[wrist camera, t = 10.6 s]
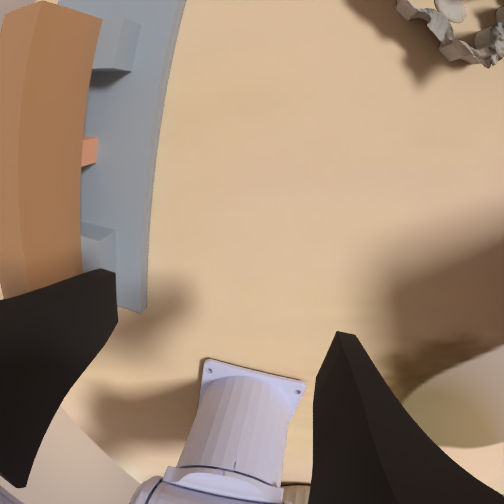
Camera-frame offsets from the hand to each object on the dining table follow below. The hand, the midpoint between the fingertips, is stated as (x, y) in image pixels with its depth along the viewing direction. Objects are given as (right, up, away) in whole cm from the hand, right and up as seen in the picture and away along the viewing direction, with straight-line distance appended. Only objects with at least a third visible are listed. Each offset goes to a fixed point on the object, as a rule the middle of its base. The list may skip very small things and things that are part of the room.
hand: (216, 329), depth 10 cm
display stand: (-9, +9, +9) cm, 16 cm away
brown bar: (-10, +8, +6) cm, 14 cm away
